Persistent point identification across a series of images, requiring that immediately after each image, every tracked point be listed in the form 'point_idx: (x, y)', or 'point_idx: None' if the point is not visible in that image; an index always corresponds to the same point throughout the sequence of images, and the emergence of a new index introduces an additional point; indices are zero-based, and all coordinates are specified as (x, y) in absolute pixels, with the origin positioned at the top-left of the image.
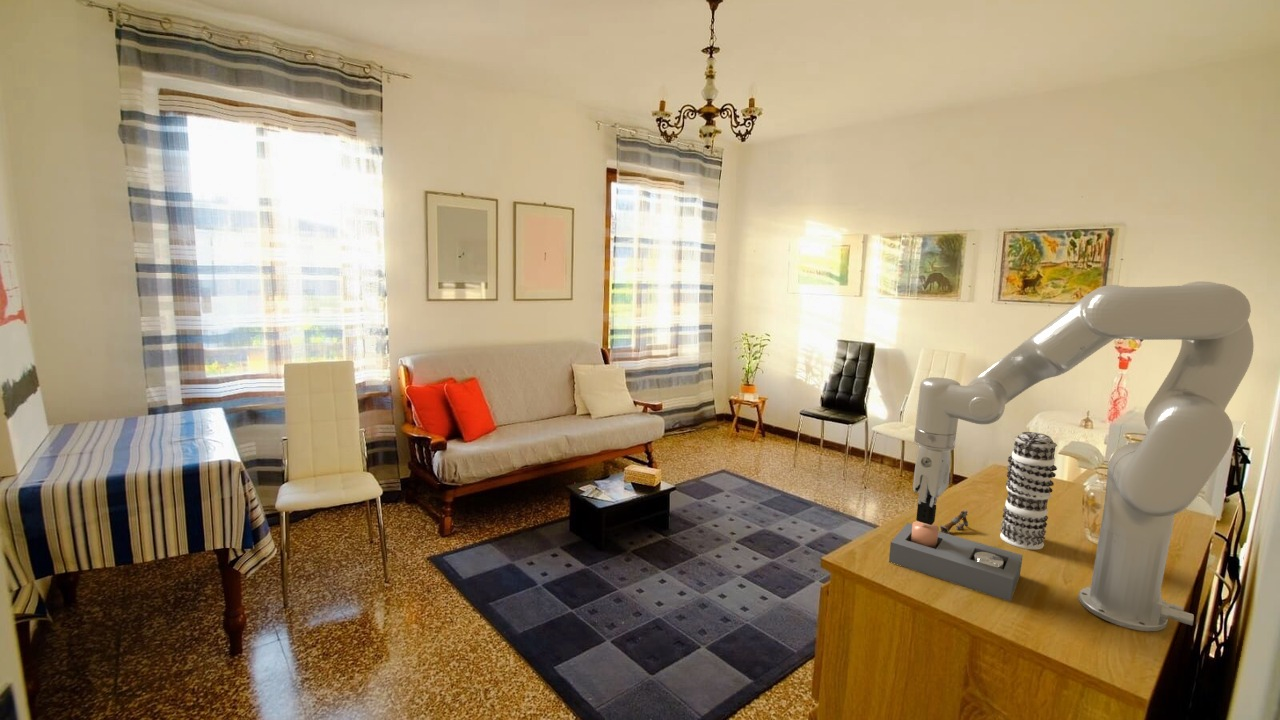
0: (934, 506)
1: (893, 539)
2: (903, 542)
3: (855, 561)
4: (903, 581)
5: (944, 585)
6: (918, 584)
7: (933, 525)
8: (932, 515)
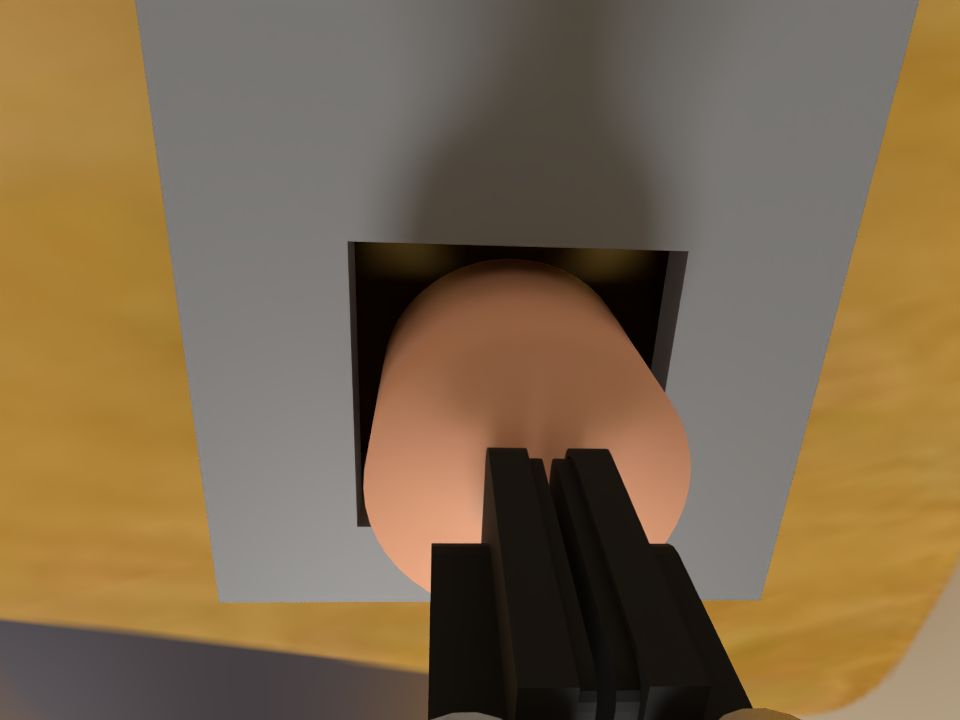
0: (650, 696)
1: None
2: (706, 524)
3: (798, 628)
4: (937, 340)
5: None
6: (938, 244)
7: (435, 418)
8: (648, 555)
